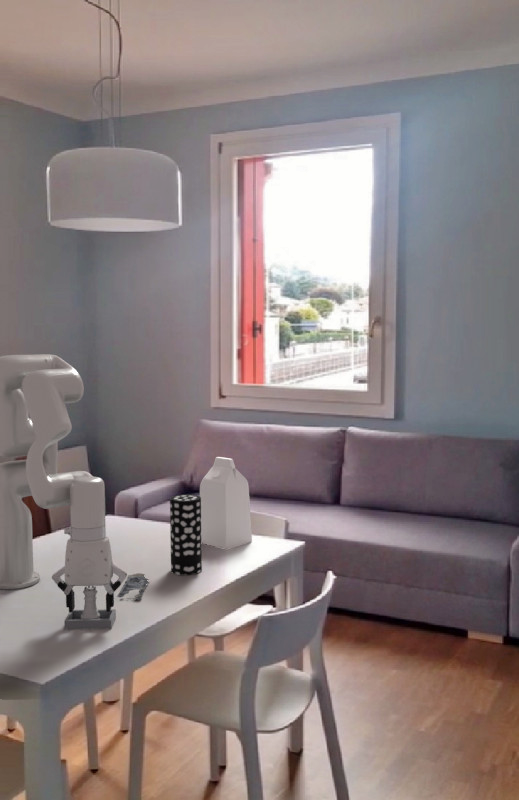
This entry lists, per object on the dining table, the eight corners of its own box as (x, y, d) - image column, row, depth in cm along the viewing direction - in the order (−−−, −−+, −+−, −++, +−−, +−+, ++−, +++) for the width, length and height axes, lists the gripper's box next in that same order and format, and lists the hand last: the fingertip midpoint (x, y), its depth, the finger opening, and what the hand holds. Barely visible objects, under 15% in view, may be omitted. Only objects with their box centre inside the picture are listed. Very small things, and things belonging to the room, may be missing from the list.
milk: (252, 541, 248) (251, 457, 245) (226, 549, 239) (225, 462, 237) (223, 534, 256) (222, 453, 253) (197, 542, 247) (196, 458, 244)
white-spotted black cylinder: (182, 564, 225) (181, 493, 223) (207, 568, 221) (206, 496, 219) (164, 572, 218) (163, 499, 216) (190, 577, 214) (189, 502, 212)
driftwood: (129, 576, 216) (129, 569, 216) (154, 576, 216) (154, 569, 215) (113, 604, 195) (112, 596, 195) (141, 604, 195) (140, 596, 195)
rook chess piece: (80, 619, 183) (79, 584, 182) (100, 618, 184) (100, 583, 183) (80, 626, 178) (80, 591, 178) (100, 625, 179) (100, 589, 179)
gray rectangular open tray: (64, 629, 177) (64, 620, 177) (70, 618, 184) (70, 609, 184) (111, 628, 178) (111, 620, 178) (115, 617, 184) (115, 609, 184)
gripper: (44, 537, 175) (47, 616, 177) (125, 537, 175) (127, 615, 177) (52, 529, 182) (54, 604, 184) (130, 528, 183) (131, 603, 185)
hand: (90, 609), depth 181 cm, fingers open, 7 cm apart
